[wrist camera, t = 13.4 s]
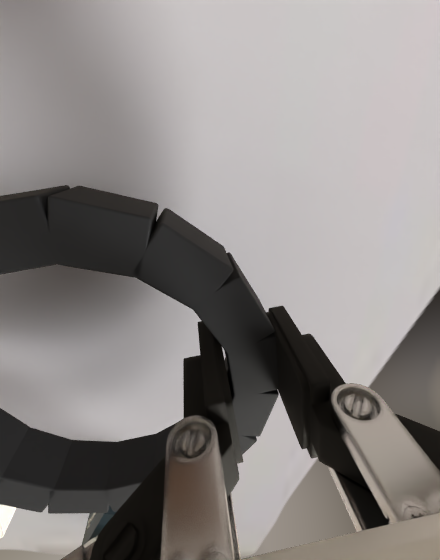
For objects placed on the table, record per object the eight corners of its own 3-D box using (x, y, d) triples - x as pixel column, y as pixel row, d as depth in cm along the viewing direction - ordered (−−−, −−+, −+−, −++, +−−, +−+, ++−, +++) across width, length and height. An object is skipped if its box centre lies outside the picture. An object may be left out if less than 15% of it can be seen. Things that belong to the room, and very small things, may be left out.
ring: (14, 486, 14) (-14, 541, 12) (-207, 230, 8) (-333, 255, 6) (272, 431, 15) (286, 474, 13) (247, 155, 9) (265, 157, 7)
